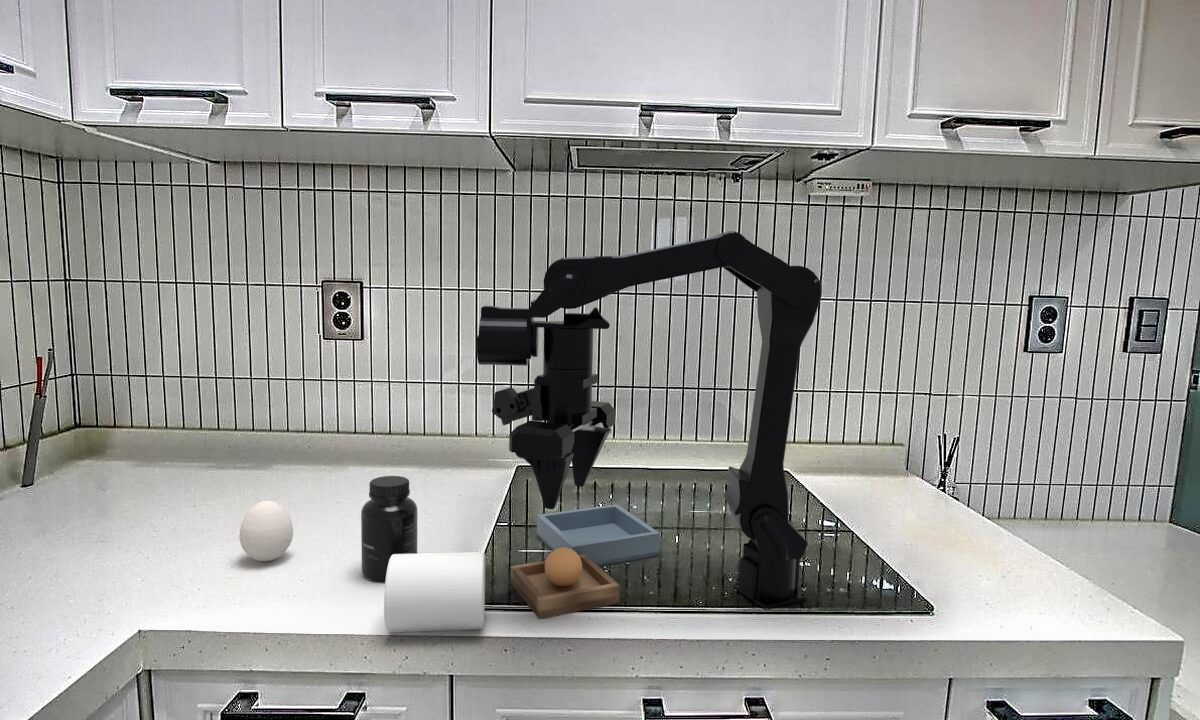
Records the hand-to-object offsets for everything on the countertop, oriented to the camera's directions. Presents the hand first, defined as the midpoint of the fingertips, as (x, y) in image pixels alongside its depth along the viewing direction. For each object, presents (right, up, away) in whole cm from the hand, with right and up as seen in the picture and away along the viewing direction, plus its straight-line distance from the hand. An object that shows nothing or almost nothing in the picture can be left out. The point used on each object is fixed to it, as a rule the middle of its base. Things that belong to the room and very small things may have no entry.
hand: (565, 496), depth 86 cm
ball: (0, -9, +1) cm, 9 cm away
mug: (-14, -13, -5) cm, 19 cm away
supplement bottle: (-23, -11, +6) cm, 26 cm away
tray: (0, -12, +1) cm, 12 cm away
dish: (+4, -10, +16) cm, 20 cm away
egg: (-40, -10, +9) cm, 42 cm away
